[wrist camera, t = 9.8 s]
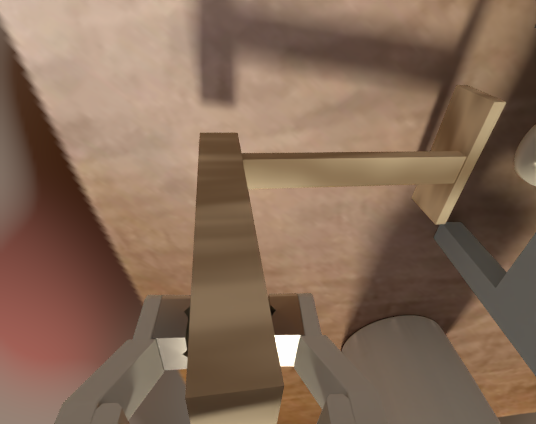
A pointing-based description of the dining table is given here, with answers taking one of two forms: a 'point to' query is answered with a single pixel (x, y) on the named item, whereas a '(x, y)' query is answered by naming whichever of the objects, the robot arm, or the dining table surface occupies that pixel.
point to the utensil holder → (417, 373)
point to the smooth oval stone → (527, 157)
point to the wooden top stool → (497, 285)
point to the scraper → (248, 256)
